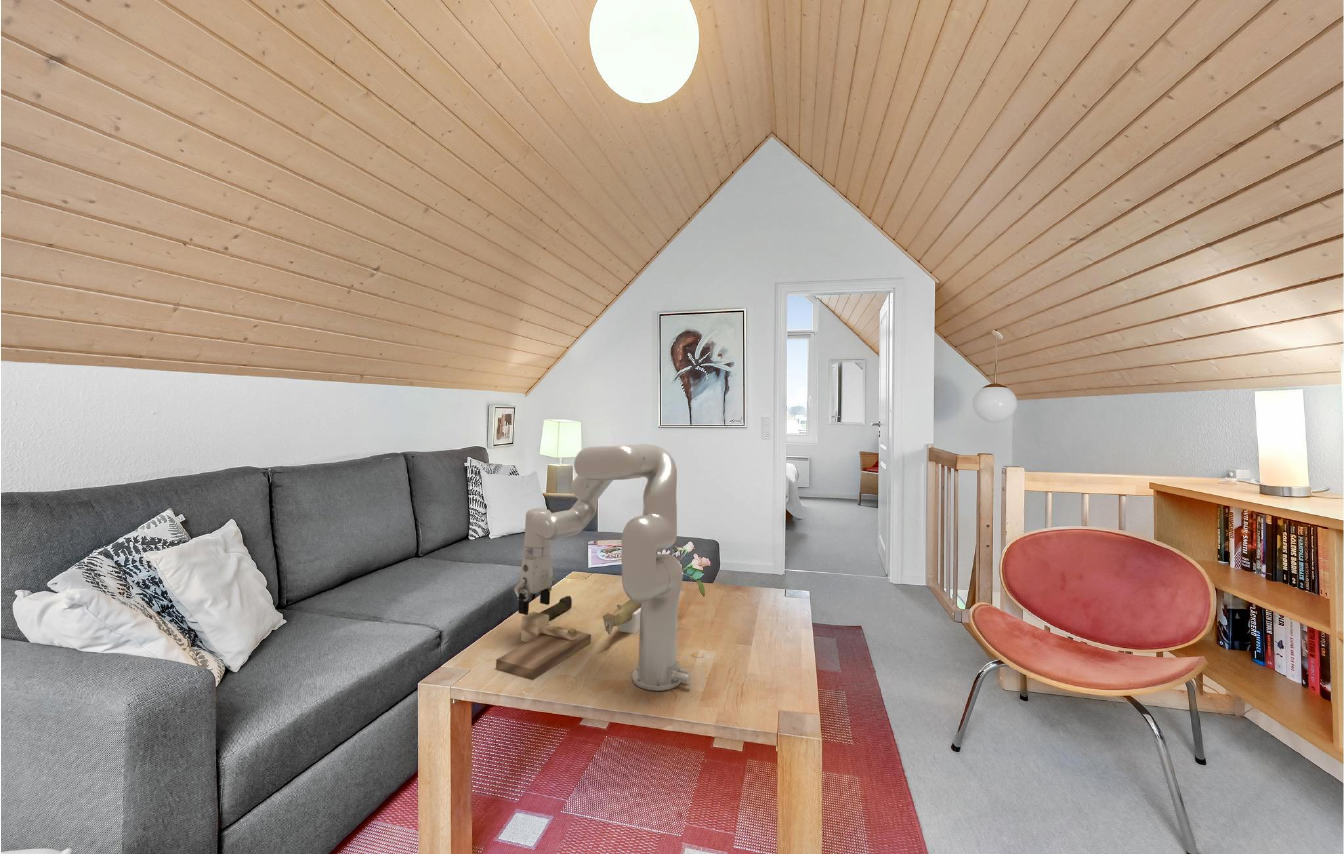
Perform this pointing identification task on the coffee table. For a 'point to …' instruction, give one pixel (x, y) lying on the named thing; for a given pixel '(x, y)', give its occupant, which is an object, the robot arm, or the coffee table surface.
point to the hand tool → (559, 607)
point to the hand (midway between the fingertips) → (534, 608)
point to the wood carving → (624, 618)
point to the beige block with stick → (542, 628)
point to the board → (541, 654)
